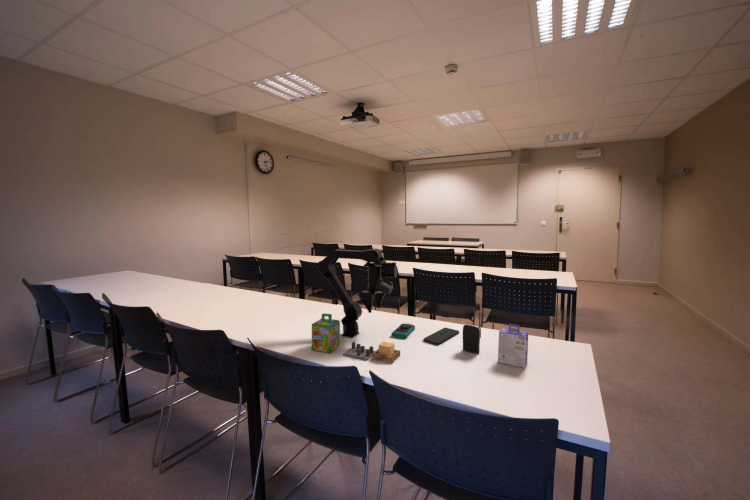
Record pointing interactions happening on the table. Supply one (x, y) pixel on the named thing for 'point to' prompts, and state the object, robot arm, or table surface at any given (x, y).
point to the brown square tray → (386, 358)
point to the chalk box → (326, 334)
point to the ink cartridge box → (513, 346)
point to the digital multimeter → (403, 331)
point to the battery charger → (471, 338)
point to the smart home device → (441, 336)
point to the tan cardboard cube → (386, 349)
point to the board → (359, 352)
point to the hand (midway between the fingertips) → (374, 310)
